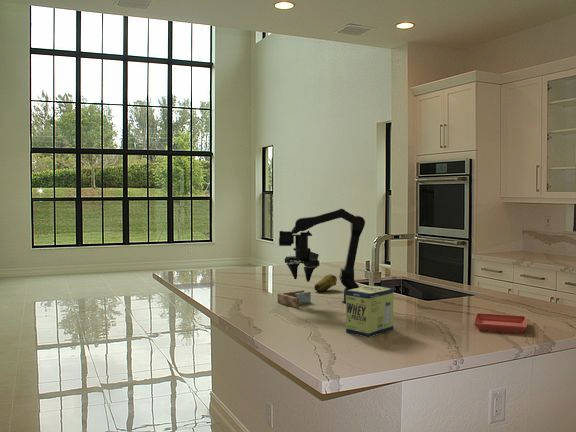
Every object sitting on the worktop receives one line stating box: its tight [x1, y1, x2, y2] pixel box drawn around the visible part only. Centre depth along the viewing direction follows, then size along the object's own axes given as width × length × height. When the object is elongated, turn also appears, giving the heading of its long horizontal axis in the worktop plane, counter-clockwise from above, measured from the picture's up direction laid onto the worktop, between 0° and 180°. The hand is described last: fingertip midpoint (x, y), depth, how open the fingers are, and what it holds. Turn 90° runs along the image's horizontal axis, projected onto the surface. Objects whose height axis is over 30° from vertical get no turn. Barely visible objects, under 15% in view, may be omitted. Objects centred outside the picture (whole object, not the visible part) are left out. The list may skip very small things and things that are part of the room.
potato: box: [313, 274, 338, 293], centre depth 291 cm, size 8×13×8 cm, turn 109°
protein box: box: [345, 284, 394, 338], centre depth 211 cm, size 10×16×16 cm
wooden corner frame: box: [277, 289, 305, 308], centre depth 262 cm, size 14×15×4 cm
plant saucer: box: [473, 312, 528, 334], centre depth 215 cm, size 18×18×3 cm
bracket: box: [295, 291, 311, 305], centre depth 263 cm, size 8×6×5 cm
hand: (301, 280), depth 260 cm, fingers open, 9 cm apart
